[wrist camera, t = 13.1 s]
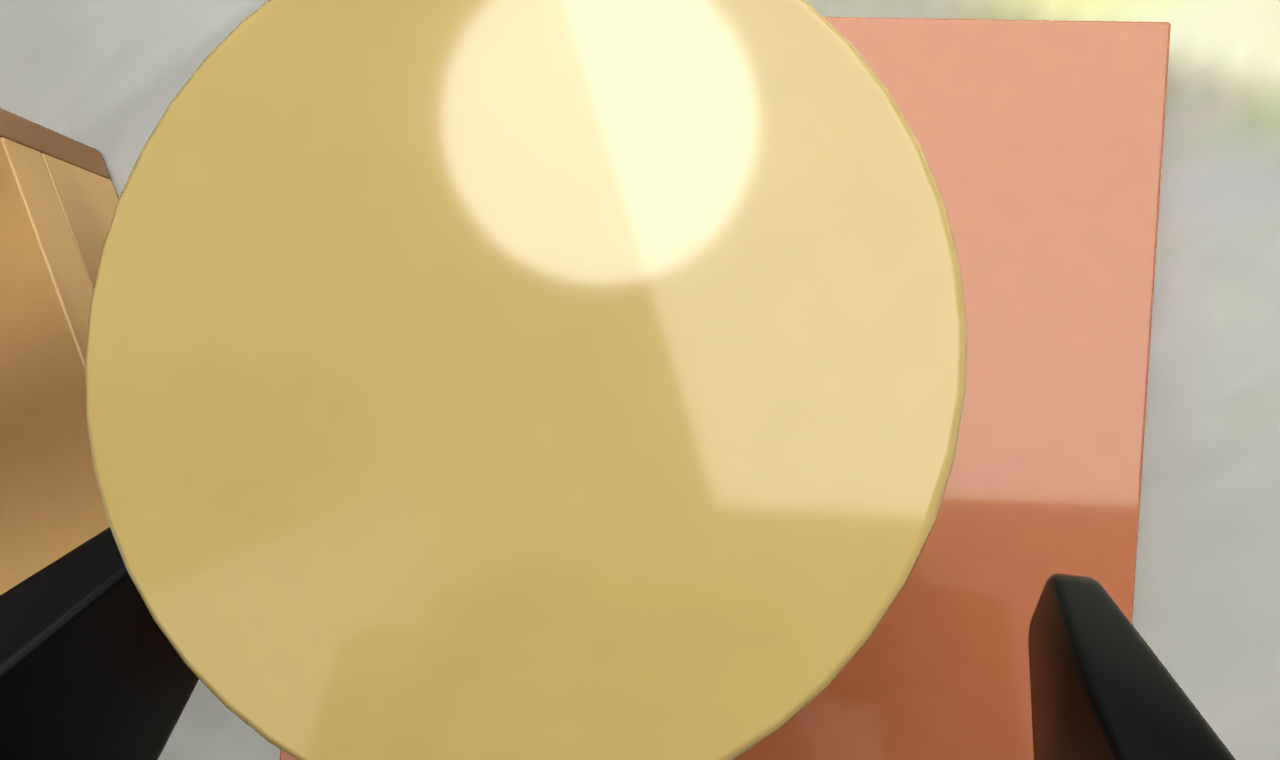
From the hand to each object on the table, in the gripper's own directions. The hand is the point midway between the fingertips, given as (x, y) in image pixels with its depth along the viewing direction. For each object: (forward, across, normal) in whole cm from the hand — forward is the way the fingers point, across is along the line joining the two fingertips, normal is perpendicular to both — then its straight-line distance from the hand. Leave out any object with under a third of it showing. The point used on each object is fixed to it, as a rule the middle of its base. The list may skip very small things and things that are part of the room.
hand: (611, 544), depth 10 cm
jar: (+7, 0, +4) cm, 8 cm away
